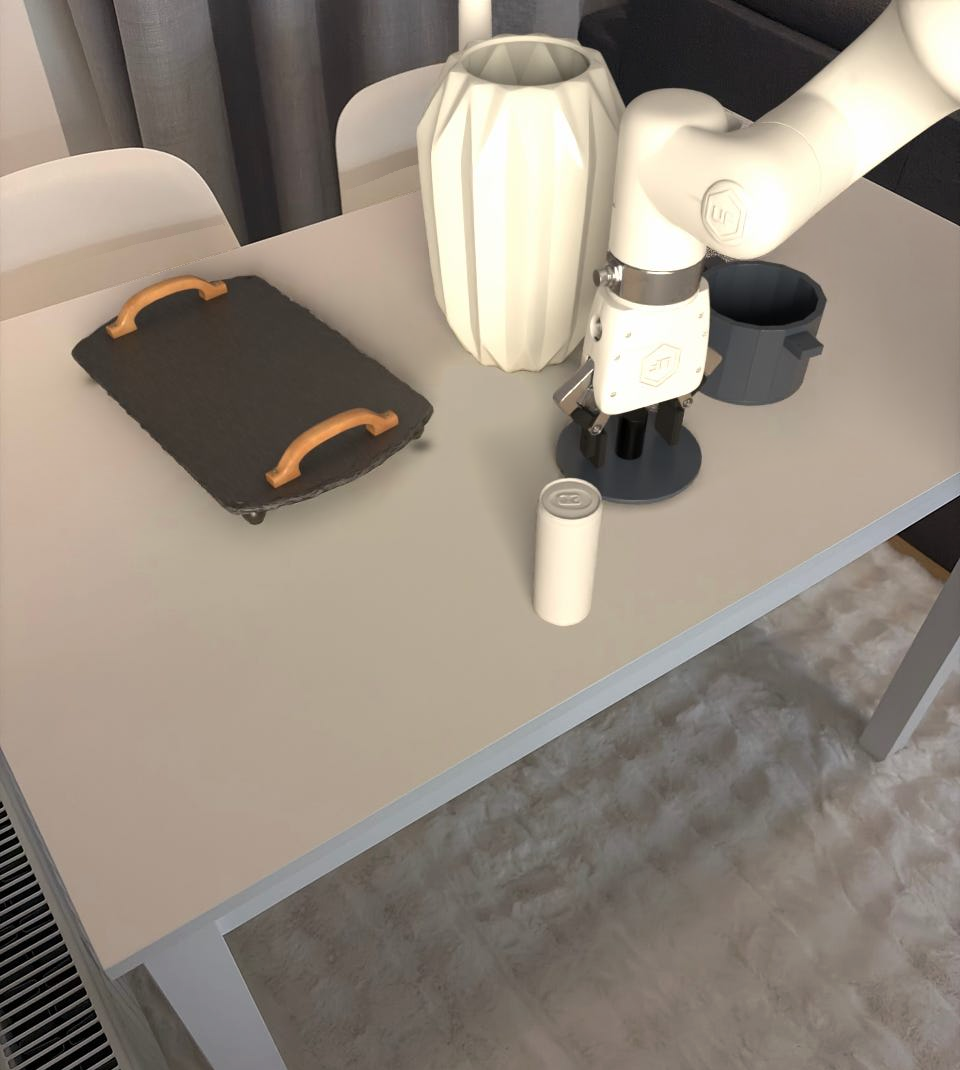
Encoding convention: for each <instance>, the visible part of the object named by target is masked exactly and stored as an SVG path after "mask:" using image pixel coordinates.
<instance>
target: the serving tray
mask: <svg viewBox="0 0 960 1070" xmlns="http://www.w3.org/2000/svg"><path fill="white" fill-rule="evenodd" d="M70 355H71V356H72V359H73V360H74V362H76V363H77V364H78V365H79V366H80V367H81V368H82V369H83V370H84V371H85V372H86V373H87V374H88V376H89V377H90V378H91V379H93V380H94V381H95V383H97V384H98V385H99V386H100V387H101V388H102V389H103V390H104V391H105V392H106V394H107V396H109V397H110V398H112V399H113V400H114V401H115V402H117V403H118V405H119V406H120V407H121V408H122V409H123V410H124V411H125V412H126V414H127V415H128V416H130V417H131V418H132V419H133V420H134V421H136V422H137V423H138V424H139V425H140V428H141V429H142V430H144V431H145V432H147V433H148V434H149V436H150V438H152V439H153V440H154V441H155V442H156V443H157V444H159V445H160V446H161V448H162V450H164V452H165V453H167V454H168V455H169V456H170V457H171V458H172V459H173V460H174V461H175V462H176V463H177V464H178V465H179V466H181V467H182V468H183V469H184V470H185V471H186V472H187V473H188V474H189V475H190V476H191V477H192V478H193V480H194V481H195V482H196V483H197V484H198V485H200V486H201V488H203V489H204V491H206V492H207V493H208V494H209V495H210V496H211V497H212V498H213V499H214V501H216V502H217V503H218V504H219V505H220V506H221V507H222V508H223V509H224V510H225V511H227V512H228V513H230V514H232V515H236V516H239V515H241V516H242V517H243V519H244V520H245V521H246V522H248V523H249V524H250V525H253V526H257V525H260V524H262V523H263V521H264V519H265V517H266V514H267V511H268V512H269V511H274V510H277V509H279V508H280V507H283V506H284V507H285V506H290V505H294V504H297V503H300V502H303V501H307V500H311V499H313V498H316V497H318V496H320V495H322V494H324V493H327V492H329V491H332V490H334V489H336V488H338V487H342V486H344V485H346V484H347V485H348V484H349V483H351V482H354V481H356V480H357V479H359V478H361V477H363V476H365V475H367V474H368V473H369V472H371V471H372V470H374V469H375V468H377V467H379V466H381V465H383V464H384V463H385V462H386V461H387V460H388V459H389V458H391V457H392V456H394V455H395V454H396V453H398V452H400V451H401V450H403V449H404V448H405V447H406V446H407V445H408V444H409V443H410V442H412V440H413V441H415V440H419V439H420V438H421V437H422V435H423V434H424V432H425V426H426V425H427V424H428V423H429V421H430V420H431V418H432V416H433V414H434V412H435V409H434V406H433V405H432V404H431V403H430V401H429V400H428V399H427V398H426V397H425V396H424V395H423V394H421V393H419V392H417V390H415V389H414V388H412V387H411V385H409V384H408V383H406V382H405V381H403V380H402V379H400V378H399V377H398V376H396V374H394V373H392V372H391V371H390V370H389V369H388V368H386V366H384V365H383V364H381V363H380V362H379V361H378V360H376V359H375V358H372V357H370V356H369V355H367V354H366V353H364V352H362V351H361V350H359V349H358V348H357V347H356V346H354V344H353V343H352V342H351V341H350V340H349V339H348V338H347V337H346V336H343V335H342V334H341V333H340V332H339V331H338V330H335V329H334V328H332V327H331V326H329V325H328V324H327V323H325V322H323V321H322V320H320V319H319V318H317V316H316V315H315V314H313V313H311V311H310V310H309V309H308V308H307V307H305V306H303V305H301V304H299V303H297V302H296V301H294V300H291V298H290V297H289V296H287V295H286V294H283V292H281V291H280V289H278V288H277V287H276V286H274V285H273V284H270V283H269V282H268V281H267V280H266V279H265V278H263V277H261V276H258V275H256V274H254V275H253V274H251V275H236V276H233V277H231V278H224V279H217V280H211V281H208V280H206V279H204V278H202V277H200V276H197V275H195V274H194V275H193V274H182V275H177V276H173V277H168V278H166V279H163V280H161V281H158V282H156V283H153V284H151V285H148V286H147V287H144V288H143V289H141V290H139V291H138V292H136V293H135V294H133V295H132V296H130V297H129V298H128V299H127V300H126V302H125V303H124V305H123V306H122V308H121V309H120V312H119V313H118V315H116V316H114V317H113V318H111V319H110V320H109V321H107V322H105V323H104V324H102V325H100V326H99V327H98V328H97V329H95V330H94V331H93V332H91V333H90V334H89V335H88V336H86V337H83V338H82V339H81V340H80V341H78V342H77V343H76V345H75V346H74V347H73V348H72V350H71V354H70Z"/></svg>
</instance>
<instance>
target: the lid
mask: <svg viewBox="0 0 960 1070" xmlns="http://www.w3.org/2000/svg"><path fill="white" fill-rule="evenodd" d="M597 410H598V409H594V410H593V413H594V414H596V412H597ZM656 414H657V411H654V410H651V409H647V407H646V406H645V407H642V408H638V409H635V410H631V411H628V412H624V413H620V414H614V415H611V416H610V417H609V419H608V421H607V423H606V424H605V426H604V428H603V429H604V430H605V431H606V432H607V444H606V453H605V462H604V465H603V467H602V468H598V469H596V468H595V467H594V465H593V464H592V463H591V462H590V460H589V459H588V458H585V457H584V456H583V454H582V453H581V451H580V436H581V425H579V424H578V423H576V422H575V421H574V420H573V419H572V421H571V422H569V423H568V424H567V425H566V426H565V427H564V428H563V429H562V431H561V432H560V434H559V435H558V437H557V440H556V444H555V460H556V461H555V462H556V465H557V467H558V469H559V471H560V472H561V474H562V475H563V477H564V478H577V479H581V480H585V481H587V482H589V483H591V484H592V485H593V486H595V487H596V488H597V489H598V491H599V492H600V494H601V497H602V501H605V502H610V503H614V504H619V505H649V504H654V503H659V502H663V501H666V500H668V499H671V498H674V497H676V496H677V495H680V494H681V493H683V492H684V491H685V490H687V489H689V487H690V486H691V485H692V484H693V483H694V482H695V480H696V479H697V477H698V475H699V474H700V471H701V467H702V463H703V462H702V461H703V455H702V449H701V446H700V444H699V442H698V440H697V438H696V437H695V436H694V434H693V433H692V432H691V431H690V430H689V429H688V428H687V427H686V426H684V425H683V424H682V427H681V429H680V434H679V440H678V444H677V445H674V446H671V445H669V444H668V443H667V442H666V441H665V440H664V439H663V438H662V436H661V435H660V434H659V433H658V432H657V431H656V430H655V420H656Z"/></svg>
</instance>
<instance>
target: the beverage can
mask: <svg viewBox="0 0 960 1070" xmlns="http://www.w3.org/2000/svg"><path fill="white" fill-rule="evenodd" d="M538 496H539V497H538V499H537V502H536V513H535V515H536V516H535V535H534V537H535V538H534V556H533V557H534V558H533V559H534V560H533V579H532V580H533V582H532V601H531V602H532V607H533V610H534V611H535V614H536V615H537V616H538V617H540V618H541V619H542V620H543V621H545V622H547V623H549V624H551V625H554V626H558V627H571V626H573V625H577V624H579V623H580V622H582V621H583V620H584V619H586V618H587V616H588V615H589V614H590V612H591V611H592V610H591V609H592V603H593V595H594V586H595V579H596V578H595V577H596V569H597V562H598V552H599V544H600V536H601V527H602V519H603V509H604V505H603V500H602V497H601V494H600V492H599V491H598V489H597V488H596V487H595V486H593V485H592V484H591V483H589V482H587V481H585V480H581V479H577V478H565V477H563V478H562V477H561V478H557V479H555V480H552V481H550V482H548V483H547V484H546V485H544V486H543V487H542V488H541V491H540V492H539V495H538Z"/></svg>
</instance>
